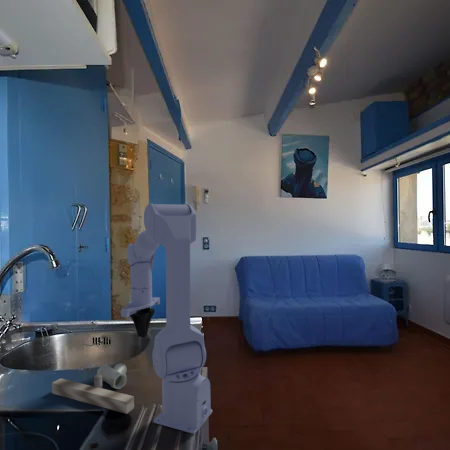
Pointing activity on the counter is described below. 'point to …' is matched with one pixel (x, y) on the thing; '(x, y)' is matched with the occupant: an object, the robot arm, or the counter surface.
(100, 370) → the pipe fitting
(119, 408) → the light wooden bar
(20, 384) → the counter surface
